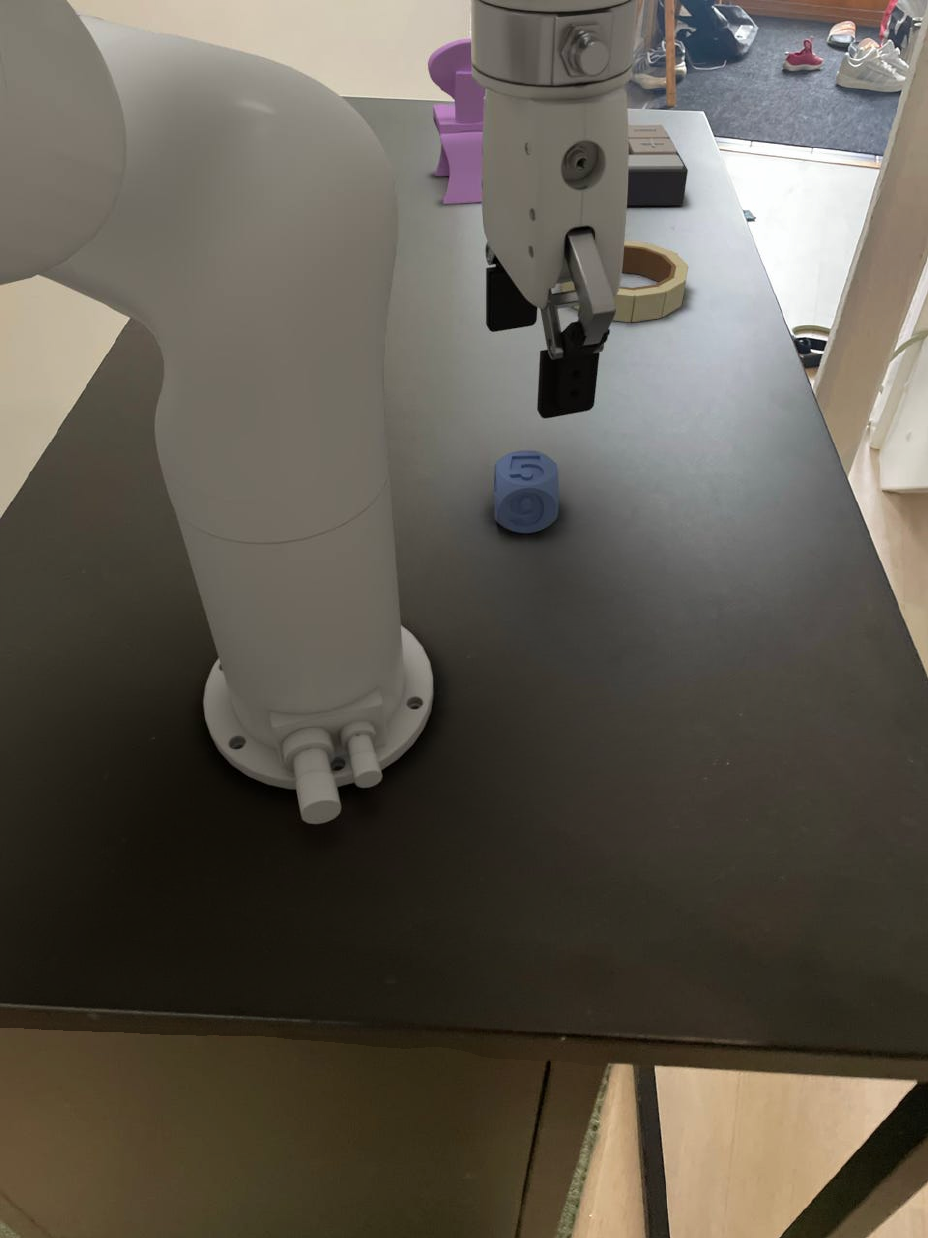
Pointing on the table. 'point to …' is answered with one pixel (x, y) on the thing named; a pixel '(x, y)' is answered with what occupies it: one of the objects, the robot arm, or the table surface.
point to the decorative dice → (526, 491)
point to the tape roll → (654, 297)
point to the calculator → (654, 168)
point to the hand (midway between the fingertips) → (536, 366)
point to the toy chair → (459, 122)
